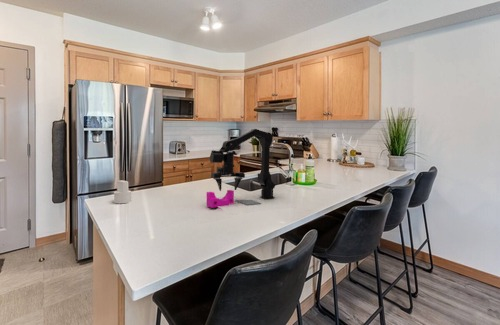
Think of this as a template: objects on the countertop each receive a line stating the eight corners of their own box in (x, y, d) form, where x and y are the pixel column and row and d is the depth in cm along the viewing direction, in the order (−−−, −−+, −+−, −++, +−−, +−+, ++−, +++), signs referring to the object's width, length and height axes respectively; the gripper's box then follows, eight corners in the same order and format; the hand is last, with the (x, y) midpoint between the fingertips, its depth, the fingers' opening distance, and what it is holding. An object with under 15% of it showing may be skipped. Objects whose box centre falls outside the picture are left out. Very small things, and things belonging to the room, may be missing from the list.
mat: (246, 199, 165) (246, 198, 165) (261, 204, 149) (261, 202, 149) (233, 200, 160) (233, 199, 160) (246, 205, 144) (246, 204, 144)
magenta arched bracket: (211, 207, 139) (211, 193, 139) (206, 205, 144) (206, 192, 144) (236, 204, 148) (236, 191, 147) (230, 202, 153) (230, 189, 152)
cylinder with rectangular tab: (134, 201, 153) (133, 181, 153) (117, 204, 146) (117, 182, 146) (127, 200, 159) (127, 180, 159) (111, 201, 153) (111, 181, 152)
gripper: (237, 162, 162) (236, 188, 162) (207, 162, 153) (207, 189, 154) (245, 163, 152) (245, 190, 153) (214, 163, 143) (214, 191, 144)
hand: (227, 190), depth 151 cm, fingers open, 9 cm apart
